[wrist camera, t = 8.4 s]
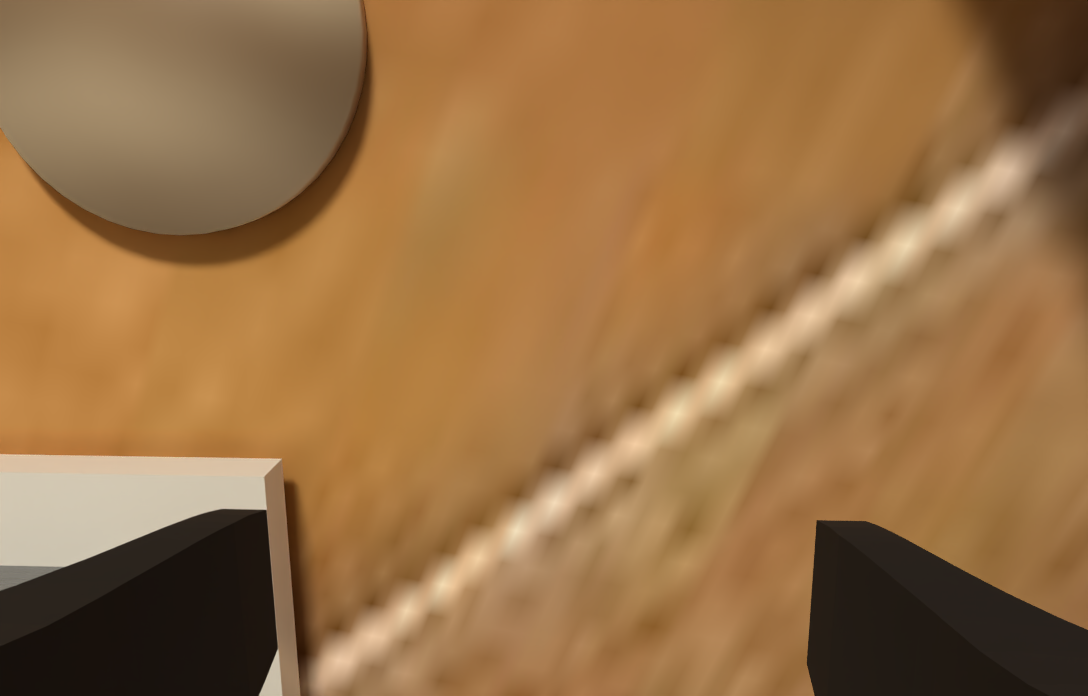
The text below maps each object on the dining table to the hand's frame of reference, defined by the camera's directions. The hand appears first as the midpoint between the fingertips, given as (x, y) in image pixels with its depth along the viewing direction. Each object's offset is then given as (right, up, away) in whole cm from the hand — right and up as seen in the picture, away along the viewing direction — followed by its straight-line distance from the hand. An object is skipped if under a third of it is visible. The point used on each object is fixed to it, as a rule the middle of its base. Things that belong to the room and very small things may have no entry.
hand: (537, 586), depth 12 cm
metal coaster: (-8, +10, +9) cm, 16 cm away
